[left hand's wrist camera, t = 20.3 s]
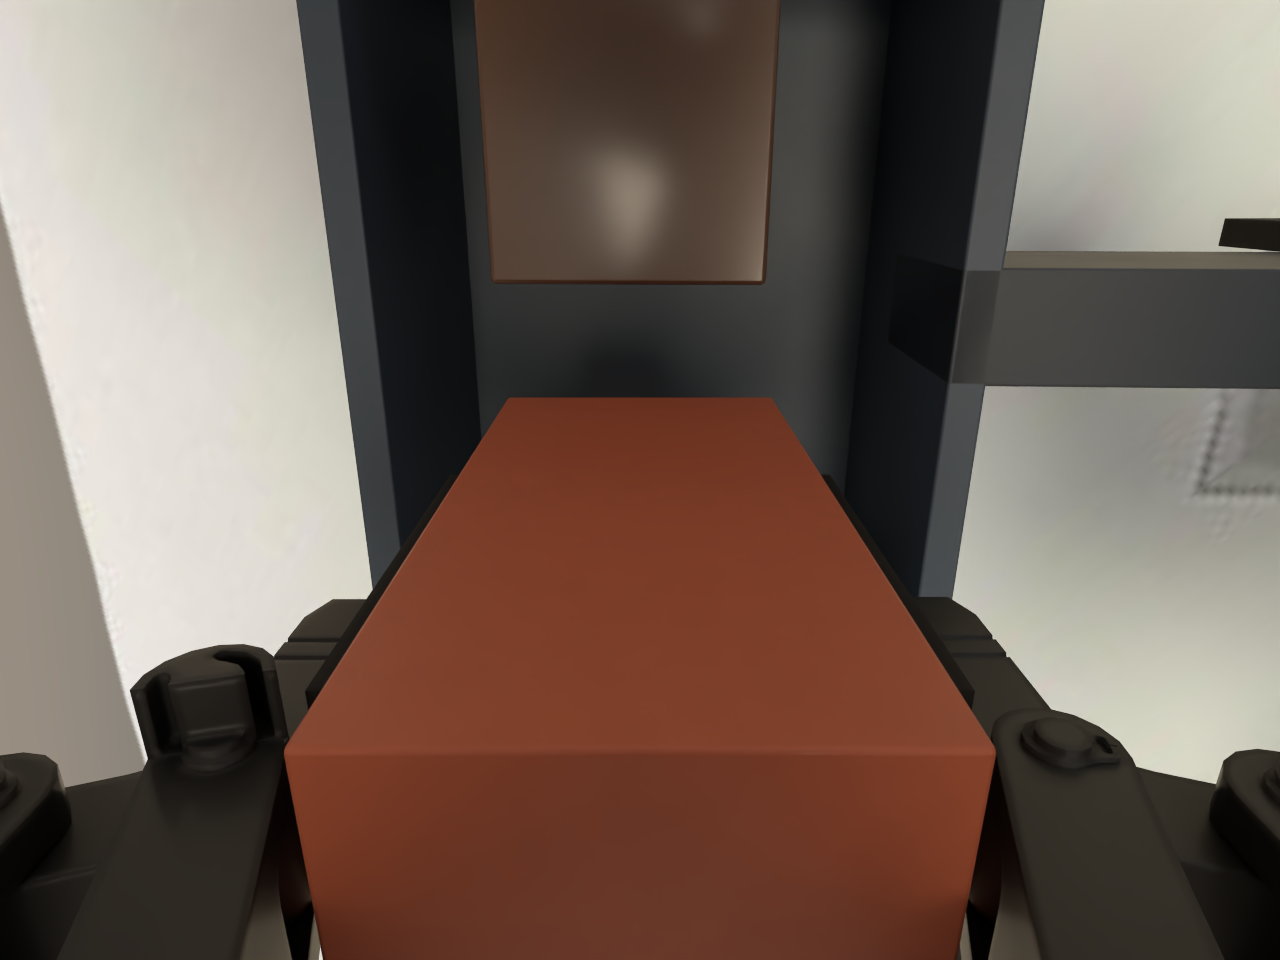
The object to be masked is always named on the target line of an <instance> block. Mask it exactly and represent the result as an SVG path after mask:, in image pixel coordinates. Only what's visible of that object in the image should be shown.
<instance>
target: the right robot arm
mask: <svg viewBox="0 0 1280 960" xmlns="http://www.w3.org/2000/svg"><path fill="white" fill-rule="evenodd" d="M1219 246H1225V247H1236V248H1247V249H1258V250H1269V251H1280V218H1228V219H1225V221H1224V225H1223V229H1222V233H1221V237H1220V242H1219Z"/></svg>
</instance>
